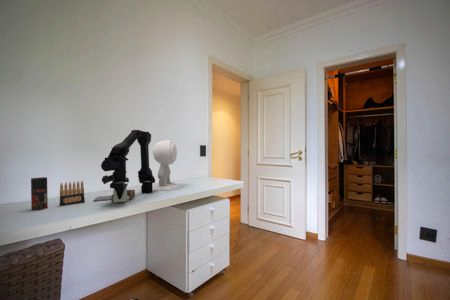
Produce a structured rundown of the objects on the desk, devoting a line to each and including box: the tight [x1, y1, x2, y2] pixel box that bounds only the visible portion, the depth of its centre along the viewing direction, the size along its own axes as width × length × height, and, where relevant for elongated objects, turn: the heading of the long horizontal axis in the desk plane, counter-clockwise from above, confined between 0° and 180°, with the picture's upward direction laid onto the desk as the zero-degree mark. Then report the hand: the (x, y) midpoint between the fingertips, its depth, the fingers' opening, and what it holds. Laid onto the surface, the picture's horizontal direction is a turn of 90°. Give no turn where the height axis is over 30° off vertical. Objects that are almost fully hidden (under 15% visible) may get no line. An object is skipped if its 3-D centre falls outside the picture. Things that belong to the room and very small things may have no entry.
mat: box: [92, 195, 112, 202], centre depth 122 cm, size 9×9×1 cm
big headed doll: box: [152, 139, 181, 192], centre depth 154 cm, size 20×23×35 cm
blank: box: [112, 188, 128, 203], centre depth 113 cm, size 6×4×6 cm, turn 106°
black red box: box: [30, 176, 49, 211], centre depth 103 cm, size 6×6×15 cm
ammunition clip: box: [59, 180, 86, 207], centre depth 111 cm, size 11×2×12 cm, turn 132°
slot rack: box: [110, 189, 136, 203], centre depth 123 cm, size 10×14×4 cm
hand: (120, 198), depth 113 cm, fingers closed on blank, 4 cm apart
